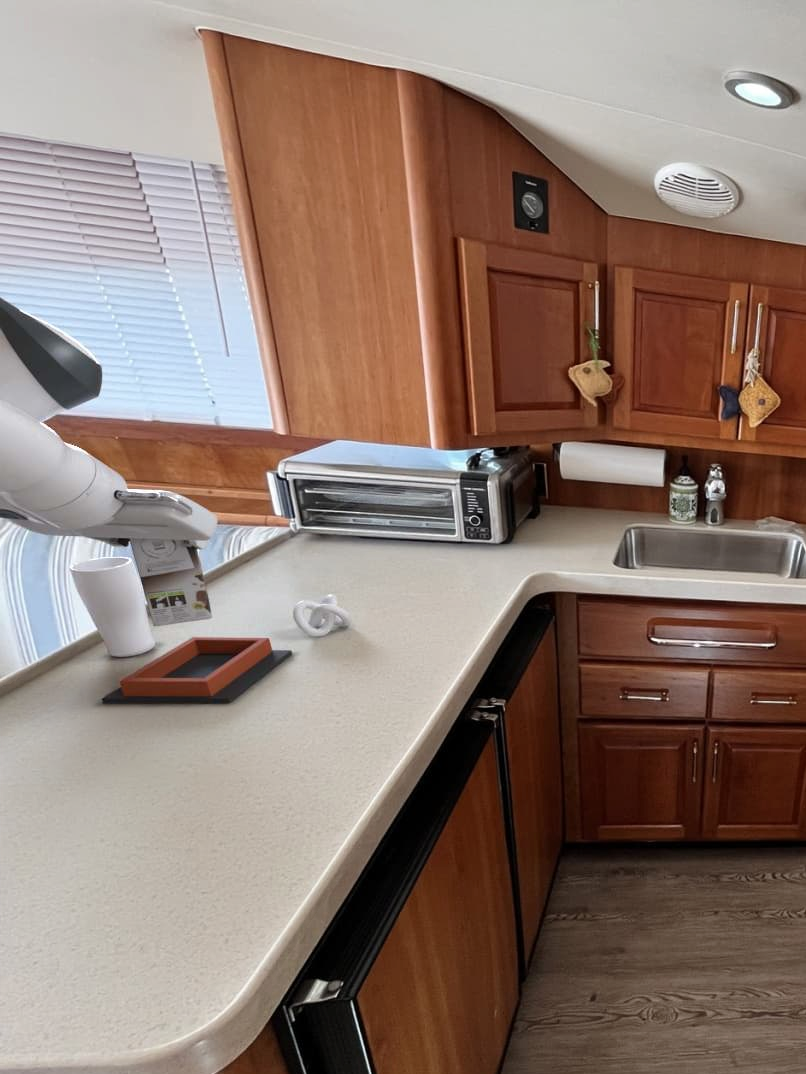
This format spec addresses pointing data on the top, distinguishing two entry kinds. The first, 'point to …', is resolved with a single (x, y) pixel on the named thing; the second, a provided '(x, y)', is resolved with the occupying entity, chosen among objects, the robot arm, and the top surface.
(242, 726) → the top surface
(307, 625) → the knot
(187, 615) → the coffee box
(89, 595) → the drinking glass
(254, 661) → the dock pad
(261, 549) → the top surface
